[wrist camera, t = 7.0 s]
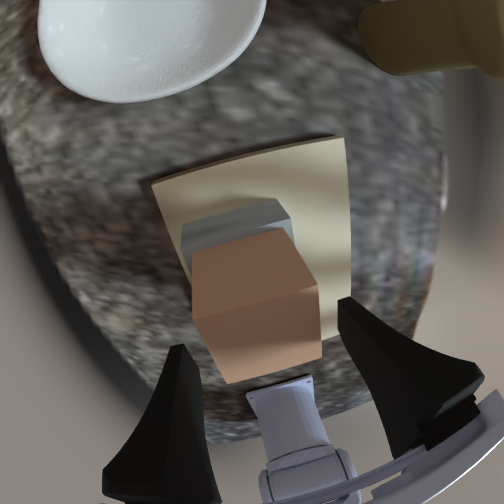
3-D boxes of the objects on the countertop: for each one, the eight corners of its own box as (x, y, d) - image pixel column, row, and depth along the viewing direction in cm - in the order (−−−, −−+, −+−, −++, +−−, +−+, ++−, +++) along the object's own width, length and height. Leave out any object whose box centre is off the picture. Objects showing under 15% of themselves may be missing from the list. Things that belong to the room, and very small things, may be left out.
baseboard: (344, 323, 26) (361, 352, 23) (228, 358, 26) (233, 392, 22) (336, 135, 17) (369, 147, 13) (153, 180, 16) (141, 203, 13)
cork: (356, 65, 14) (498, 68, 5) (355, -8, 11) (478, -47, 2) (421, 84, 15) (545, 112, 6) (420, 19, 12) (537, 17, 3)
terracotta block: (294, 296, 17) (321, 357, 13) (217, 318, 17) (226, 383, 13) (283, 227, 15) (318, 284, 11) (192, 252, 15) (192, 319, 10)
